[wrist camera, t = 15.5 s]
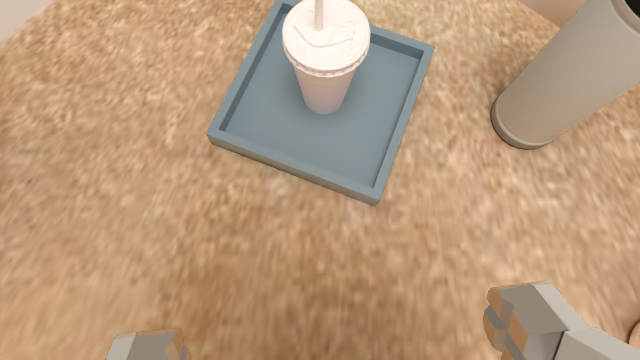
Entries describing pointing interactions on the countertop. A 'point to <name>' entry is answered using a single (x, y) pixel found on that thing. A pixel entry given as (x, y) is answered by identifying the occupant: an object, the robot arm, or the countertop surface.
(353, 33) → the smoothie
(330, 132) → the tray
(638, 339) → the water bottle
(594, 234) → the countertop surface
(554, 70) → the travel mug
